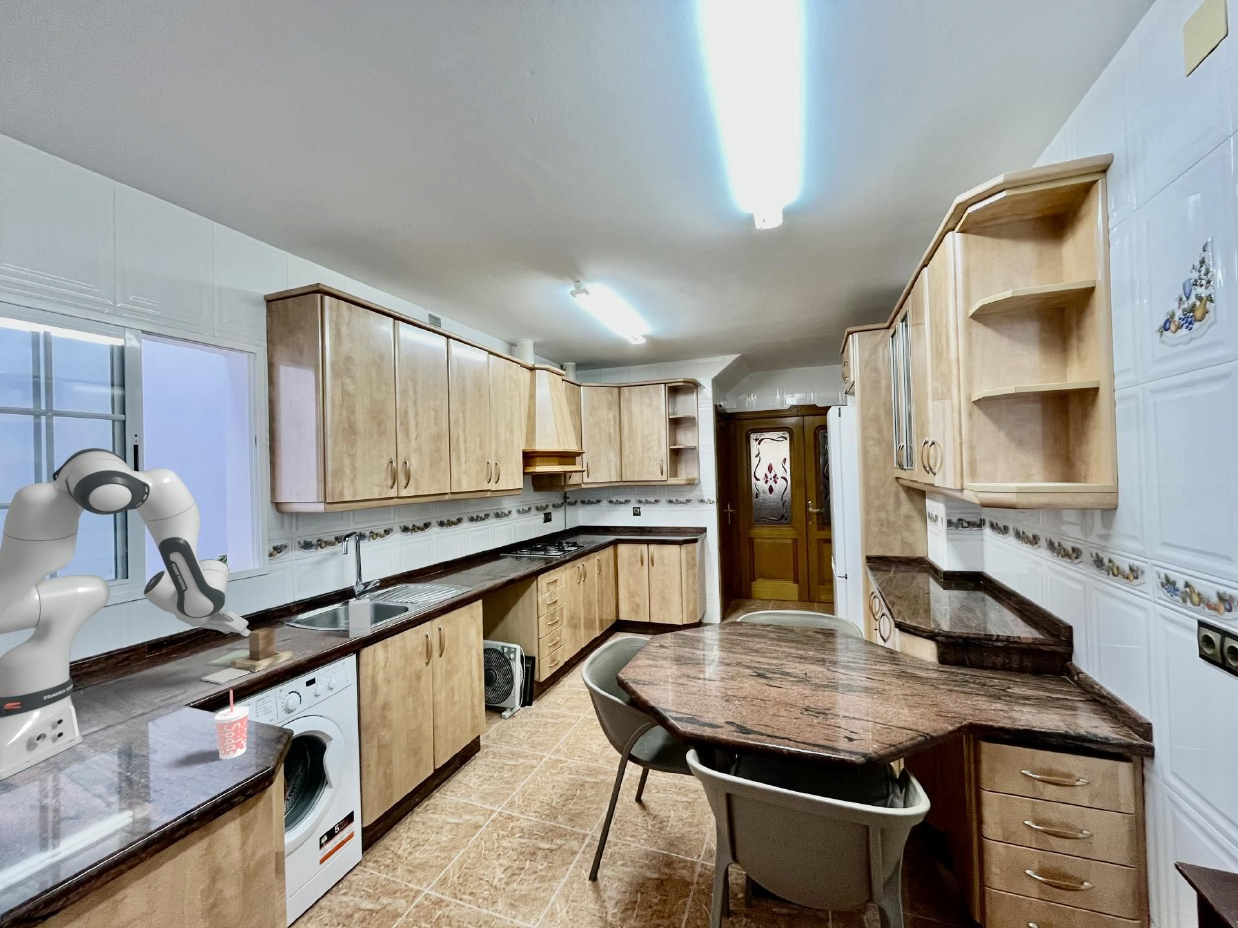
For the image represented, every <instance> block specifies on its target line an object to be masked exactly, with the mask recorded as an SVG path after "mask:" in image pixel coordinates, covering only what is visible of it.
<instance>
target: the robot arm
mask: <svg viewBox="0 0 1238 928" xmlns="http://www.w3.org/2000/svg"><path fill="white" fill-rule="evenodd" d="M52 480H53V481H52V482H38V483H32V484H28V485H26V486H23V487H21V488H20V489H18V490H17V491H16V492H15V493H14V495H13V498H12V499H11V502H10V504H9V506H8V509H7V513H6V515H5V520H4V524H3V531H2V538H1V542H0V543H1V545H0V635H4V634H7V633H8V634H9V633H14V632H19V631H23V630H28V629H34V630H33V631H34V632H33V633H32V635H30V637H29V638H28V639H27V640H25V641H24V642H21V643H20V644H18V645H16V646H14V647H12V648H11V649H9V650H8V651H6V652H5V653H4V654H2V655H1V656H0V781H2V780H4V779H7V778H9V777H11V776H13V775H15V774H18V773H20V772H22V771H24V770H26V769H28V768H30V767H32V766H35V765H36V764H38V763H41V762H43V761H44V760H47V759H49V758H51V757H53V756H56V755H57V754H60V753H62V752H64V751H66V750H68V749H70V748H72V747H74V746H77V745H78V744H81V743H83V741H84V740H83V738H84V737H83V736H82V732H81V730H80V727H79V725H78V721H77V714H76V709H75V707H74V704H73V701H72V698H71V695H72V693H74V690H73V688H74V684H73V678H72V677H71V676H70V661H71V660H70V658H71V650H72V646H73V643H74V640H75V638H76V636H77V634H78V633H79V631H80V630H81V628H82V627H83V626H84V625H85V624H86V622H88V621H89V620H90V619H91V618H92V617H93V616H94V615H96V614H98V613H99V612H100V611H102V609H104V607H105V606H106V605H107V603H108V601H109V600H110V596H111V589H110V586H109V584H108V583H107V581H106V580H105V579H104V578H103V577H101V576H99V575H97V574H72V575H71V574H70V575H64V576H58V577H57V576H56V577H49V578H46V577H48V576H50V575H51V574H54V573H56V572H58V571H60V570H62V569H63V568H65V567H66V566H68V564H69V563H70V562H71V561H72V559H73V558H74V556H75V553H76V552H75V551H76V547H77V546H76V544H77V540H78V539H77V538H78V532H79V523H80V522H79V520H80V517H81V515H82V513H83V512H84V511H86V512H89V513H92V514H95V515H101V516H103V515H104V516H107V515H109V516H110V515H115V514H120V513H124V512H126V511H130V510H132V511H133V510H137V513H138V514H139V516H140V518H141V520H142V521H143V523H144V525H145V526H146V528H147V530H148V532H149V534H150V535H151V537H152V539H153V542H154V543H155V545H156V548H157V550H158V552H159V554H160V556H161V560H162V561H163V563H164V566H165V568H166V570H161V571H160V572H158V573H156V574H154V575H153V576H152V577H151V578H150V579H149V581H148V582H146V585H145V588H144V590H143V596H144V598H145V599H146V600H147V601H148V602H150V603H151V604H153V606H156V607H157V608H159V609H160V610H162V611H164V612H167V613H171V614H173V615H174V616H175V617H176V619H177V620H179V621H181V622H184V623H186V625H189V626H190V627H194V628H195V627H198V628H199V627H200V628H203V629H208V630H210V629H211V630H215V631H216V630H217V631H219V632H222V633H223V634H227V635H228V634H231V633H238V634H240V635H241V636H243V637H249V634H250V632H252V631H251V630H250V629H248V628H247V626H248V625H249V621H248V620H246V619H244V618H243V617H241V616H240V615H238V614H236V613H234V612H232V611H230V610H225V609H223V607H224V606H225V605H226V592H227V587H228V582H229V577H230V568H229V567H228V565H227V564H226V563H225V562H223V561H221V560H217V559H211V558H209V559H203V560H200V561H199V559H198V554H197V553H198V552H197V550H198V549H197V547H198V539H199V533H200V530H201V529H200V528H201V523H202V522H201V521H202V520H201V519H202V518H201V514H200V509H199V506H198V505H197V502H196V500H195V498H194V497H193V494H192V493H191V491H190V490H189V488H188V487H187V486H186V484H185V482H183V480H182V479H181V478H180V477H179V476H178V474H177V473H176V472H174V471H173V470H171V469H168V468H162V467H157V468H149V469H145V470H143V471H136V470H132V469H131V468H130V466H129V465H128V464H127V463H126V462H125V460H124V459H123V457H121V456H120V455H119V454H117V453H115V452H113V451H111V450H109V449H104V448H99V447H98V448H95V447H91V448H90V447H89V448H85V449H81V450H78V451H77V452H75V453H74V454H72V455H70V456H69V457H68V458H67V459H66V461H65V462H63V464H62V465H61V466H60V467H59V468H58V469H56V471H54V472H53V473H52Z"/></svg>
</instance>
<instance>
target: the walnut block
mask: <svg viewBox="0 0 1238 928" xmlns="http://www.w3.org/2000/svg"><path fill="white" fill-rule="evenodd" d="M275 630H276V629H275V628H271V627H262V628H258V629H256V630H253V631H251V632H250V634H249V635H248V646H249V647H248V649H249V650H248V651H249V655H250V660H253V661H261V660H263V659H266V658H269V657H272V656H274V655H275V649H276V635H275V632H276V631H275Z"/></svg>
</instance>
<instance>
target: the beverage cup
mask: <svg viewBox="0 0 1238 928" xmlns="http://www.w3.org/2000/svg"><path fill="white" fill-rule="evenodd" d="M233 696H234V695H233V689H230V690H229V707H230V708H227V709H225V710H223V711H220V712H218V713H217V714H215V716H214V717H213V720H214V723H215V728H216V736H217V746H218V756H219V759H220V760H231V759H234V758H236V757H239V756H241V755H242V754H244V753H245V752H246V751H247V734H248V717H249V716H248V714H249V712H250V708H249V706H246V705H241V706H235V707H234V700H233V699H234V697H233Z"/></svg>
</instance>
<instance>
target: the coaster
mask: <svg viewBox="0 0 1238 928" xmlns="http://www.w3.org/2000/svg"><path fill="white" fill-rule="evenodd" d="M248 655H249V650H236V651H232V652H231V653H229V654H226V655H223V656H221V657H218V658H216V659H214V660H211V661H209V662H207V665H208V666H231V661H233V660H236V659H239V658H242V657H245V656H248Z"/></svg>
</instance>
